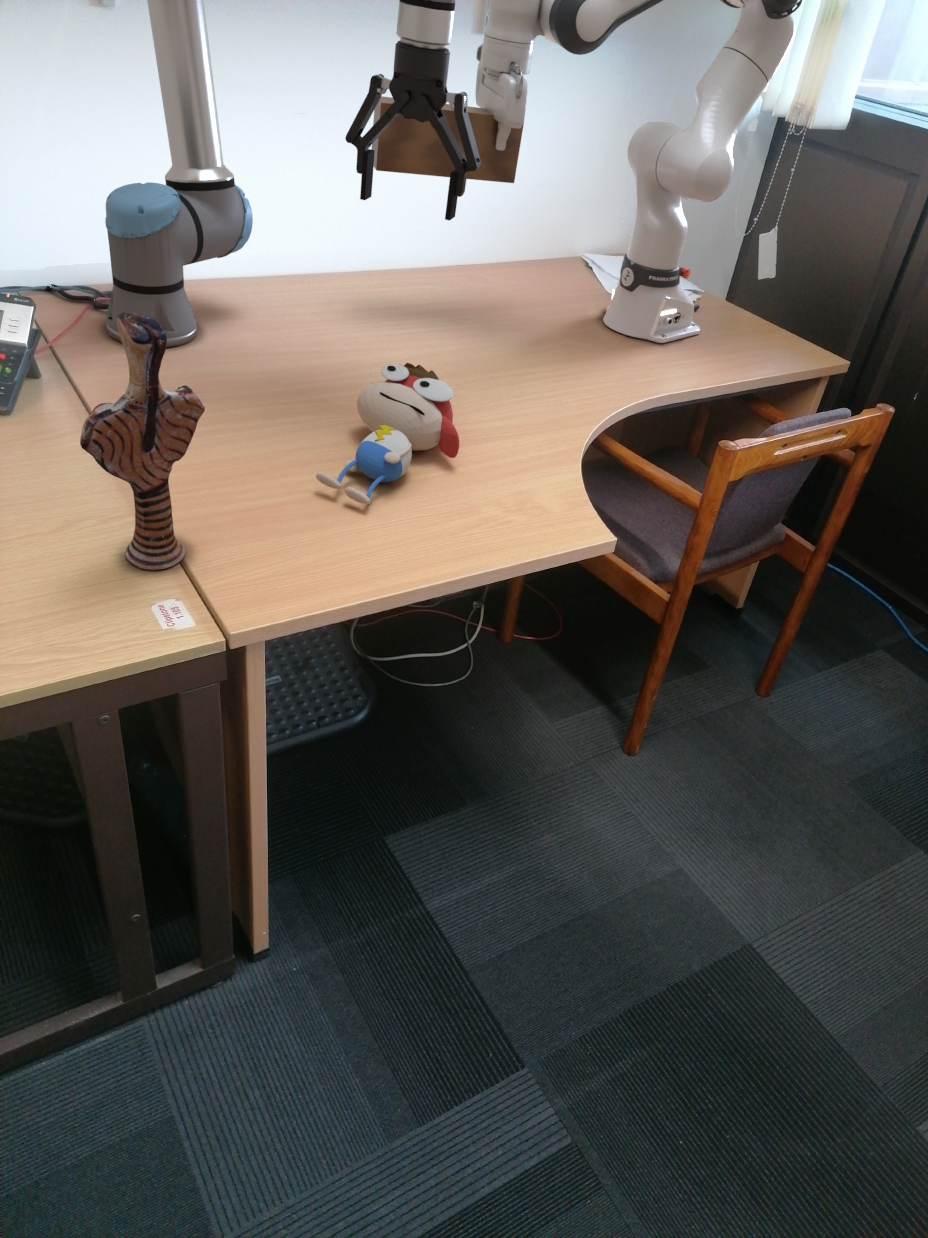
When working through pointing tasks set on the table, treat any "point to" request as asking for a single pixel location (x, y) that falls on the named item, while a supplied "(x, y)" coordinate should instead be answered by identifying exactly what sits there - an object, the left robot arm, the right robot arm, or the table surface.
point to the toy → (399, 425)
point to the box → (424, 153)
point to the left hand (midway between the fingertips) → (407, 208)
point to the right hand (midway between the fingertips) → (493, 144)
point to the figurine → (145, 440)
